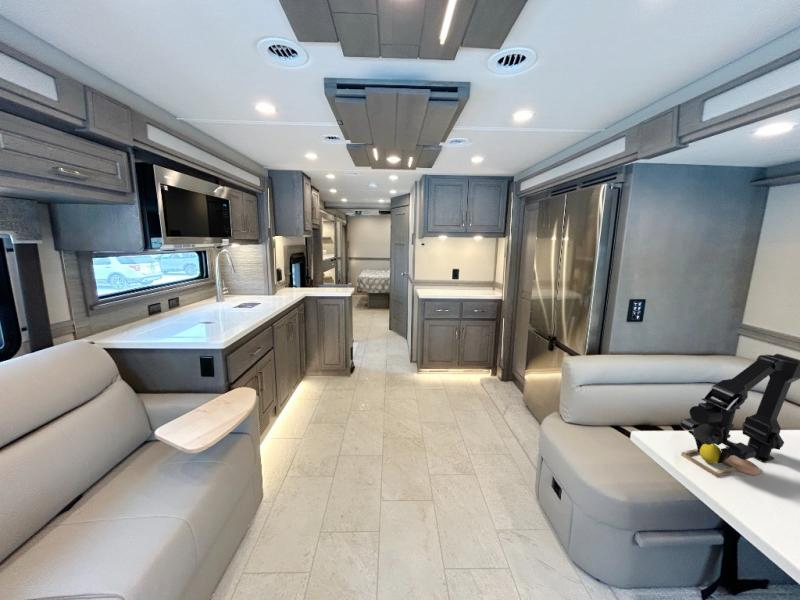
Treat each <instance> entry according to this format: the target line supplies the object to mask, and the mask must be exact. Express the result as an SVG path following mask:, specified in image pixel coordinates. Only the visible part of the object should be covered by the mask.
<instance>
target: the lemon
mask: <svg viewBox="0 0 800 600" xmlns="http://www.w3.org/2000/svg"><path fill="white" fill-rule="evenodd" d="M721 453H722V451H721V448H720V447H719V445H716V444H711V445H707V444H703V445H702V446H701V448H700V453H699V456H700V457H701V459H703V461H705V462H706V463H707V464H719V463H718V460H719V457H720V455H721Z"/></svg>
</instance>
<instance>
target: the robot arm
mask: <svg viewBox="0 0 800 600" xmlns="http://www.w3.org/2000/svg"><path fill="white" fill-rule="evenodd" d="M767 377H769V378H768V381H767V385H766V387H765V389H764V392H763V395H762V397H761V400H760V402H759V405H758V408H757V410H756V412H755V414H753V415H750V416H748V415H747V416H746V417H745V419H744V421H743V423H742V427H741V428H742V435H744V436H746V437H748V441H747V444H745V443H743V442H733V441H731V440H729V439H730V438H731V434H730V432H731V429H733V428H734V424H733V421H734V418H735V414H736V410H741V406H742V405H743V404H744V403H745V401H747V399H748V398H749V397H748V395H749V393H748V392H749V391H750V390H751V389H753V388H754V387H755V386H757V385H758V384H759V383H761V382H762V381H764V379H766V378H767ZM798 380H800V359H798V358H796V357H791V356H788V355H784V354H780V353H775V354H774V355H772V354H766V353H765V354H760V355H759V356H758V357H757V358H756V360H755V361H754V362H752V363H751V364H749V366H747V367H746V368H745V369H743V370H742V371H740V372H739V373H737V374H736V375H735V376H734V377H733V378H728V379H723V380H721V381H719V382H717V383H715V384H713V385H711V387H710V388H709V389H708V390H707V391H706V393H705V394H704V395H703V396H702V397H701V401H704V402H700V403H698V405H694V406H692V407H691V408H690V409H689V415H690V418H683V419H681V421H680V422H679V427H681V428H683V429H685V430H686V431H688V433H689V434H690V435H692V437H693V438H694V440H695V445H696V449H698V452H700V448H701V446H702V445H703V444H707V445H711V444H715V445H716V446H720V445H721V444H722V445H724V446H725V447H724V448H720V450H721V452H722V453H721V455H720V457H719V460H718V463H717V464H719V465H721V464H722V462H724V461H725V460H726V459H727V458H729V457H730V456H731V455H732V456H733V455H735V456H736V457H738V458H740V459H743V460H749V459H752V458H753V459H756V460H758V461H760V462H761V463H766V462H769V461H772V460H775V457H774V456H772V455H771V452H772V450H773V449H775V450H781V448H783V446H784V444H785V441H784V439H783V438H782V437H781V435H780V433H781V426H780V424H779V421H778V417H779V415H780V412H781V410H782V407H783V404H784V402H785V400H786V397H787V394H788V393H789V389H790V387H791V385H792V383H794V382H796V381H798Z"/></svg>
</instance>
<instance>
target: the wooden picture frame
mask: <svg viewBox="0 0 800 600" xmlns="http://www.w3.org/2000/svg"><path fill="white" fill-rule="evenodd" d="M696 454H700V452H698V449H697V448H694V449H690V450H685V451H682V452H681V454H680V456H681V457H683V458H685V459H687V460H688V461H690V462H691V463H692V464H694V465H696V466H697V467H699V468H700V469H703V470H704V471H706V472H707V473H709V474H710V473H711V474H710V475H712V476H714V477H715V478H717V477H720V476H721V477H722V476H723V475H724V476H725V475H727V474H731V473H735V472H738V471H737V467H735V466H733V465H732V464H730V463H728V462H726V461H724V462H722V463H721V464H722V465H724V466H725V467H727V468H724V469H721V470H717V471H716V470H714V469H712V468H711V467H708V466H707V465H705V464H704V463H702V462H700V461H699V460H697V459H695V458H694V457H692V456H691V455H696Z"/></svg>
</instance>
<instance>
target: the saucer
mask: <svg viewBox="0 0 800 600" xmlns="http://www.w3.org/2000/svg"><path fill="white" fill-rule="evenodd" d="M725 461H726V462H728V463H730V464H732V465H733V466H735V467H737V471H736V472H739V473H743V474H745V475H749V476H759V475H761V469H760V468H759V466H758V465H756V464H755V463H754V462H752V461H750V460H749V459H746V460H743V459H740V458H738V457H736V456H735V455H733V456H732V455H731V456H730V457H729V458H727V459H726V460H725Z"/></svg>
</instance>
